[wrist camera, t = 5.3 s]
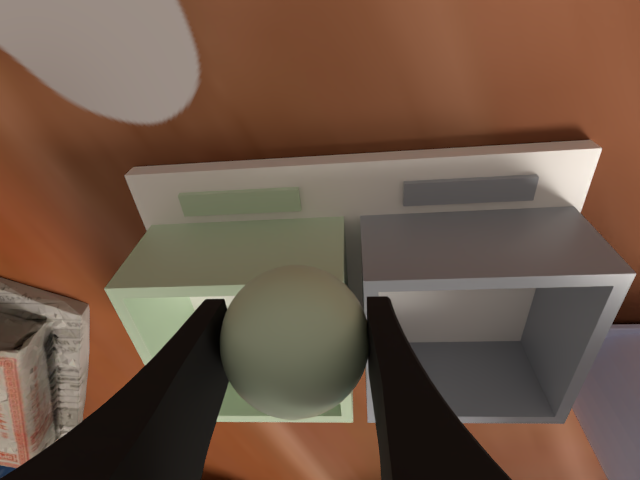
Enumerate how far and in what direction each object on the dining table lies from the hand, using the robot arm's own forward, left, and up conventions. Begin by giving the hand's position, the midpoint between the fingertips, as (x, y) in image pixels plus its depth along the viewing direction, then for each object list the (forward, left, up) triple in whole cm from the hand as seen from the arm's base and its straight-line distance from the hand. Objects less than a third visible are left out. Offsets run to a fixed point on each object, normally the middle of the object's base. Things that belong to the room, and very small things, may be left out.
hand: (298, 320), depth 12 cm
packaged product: (+24, +14, -10) cm, 30 cm away
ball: (0, 0, +1) cm, 1 cm away
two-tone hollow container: (-2, +5, -9) cm, 11 cm away
